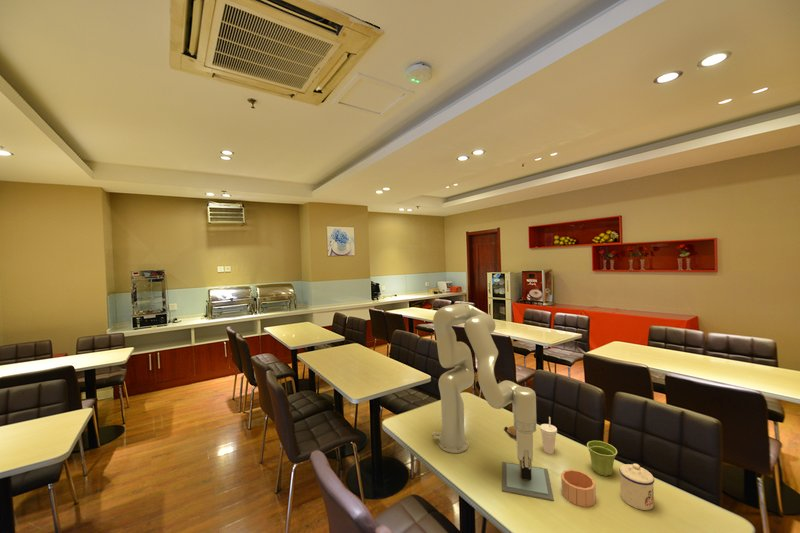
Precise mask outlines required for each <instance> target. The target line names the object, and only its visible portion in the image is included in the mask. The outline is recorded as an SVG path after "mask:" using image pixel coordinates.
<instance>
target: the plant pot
mask: <svg viewBox="0 0 800 533" xmlns="http://www.w3.org/2000/svg"><path fill="white" fill-rule="evenodd" d="M586 446H587V449H588V452H589V456H590V461H591V468H592V470H593V472H595V473H596V474H598V475H600V476H604V477H608V476H612V474H613V469H614V464H615V463H614V462H615V458H616V456H617V455H618V450H617V448H616V447H614V446H613V445H612V444H609V443H607V442H606V441H605V442H604V441H602V440H591V441H590V440H589V441H588V442H587V443H586Z"/></svg>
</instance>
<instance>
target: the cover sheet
mask: <svg viewBox="0 0 800 533" xmlns="http://www.w3.org/2000/svg"><path fill="white" fill-rule="evenodd" d="M523 458H524V457H523ZM528 459H529V458H528ZM532 462H533V461H532ZM532 462H531V461H530V468H531V480H527V479H522V478H521V466H522V460H519V464H520V465H515V464H516V463H514V464H509V463H510V462H508V463H506V466H507V488H510V489H516V490H521V491H526V492H532V493H537V494H542V495H548V490H547V485H546V480H545V474H544V469H540V468H541V467H539V468H534V467H535V466H533V467H532V465H533V464H532ZM524 463H525V461H523V464H524ZM528 464H529V462H528Z"/></svg>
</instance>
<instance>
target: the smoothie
mask: <svg viewBox="0 0 800 533" xmlns="http://www.w3.org/2000/svg"><path fill="white" fill-rule="evenodd" d="M551 420H552V419H551V417H550V416H548V423H542V424H539V429H540V432H541V439H542V445H543V446H542V447H543V451H544V453H546V454H549V455H553V454H554V453H555V452H554V451H555V446H556V445H555V444H556V437H557V433H558V428H557V427H556V426H555V425H553V424H551Z"/></svg>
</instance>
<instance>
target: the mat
mask: <svg viewBox="0 0 800 533" xmlns="http://www.w3.org/2000/svg"><path fill="white" fill-rule="evenodd" d="M506 463H509V464H515V465H520V463H519V464H518V463H513V462H509V461H502V464H501V465H502V466H501V468H502V470H501V471H502V473H501V475H502V476H501V480H502V481H501V485H502V486H501V492H503V493H509V494H513V495H518V496H524V497H529V498H534V499H539V500H546V501H549V502H550V501H551V502H555V499H554V494H553V489H552V485H551V483H552V482H551V479H550V474H549V470H548V468H544V467H538V466H532V467H534V468H540V469H544V474H545V480H546V485H547V490H548V495H542V494H537V493H532V492H526V491H521V490H516V489H510V488H507V466H506Z"/></svg>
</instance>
